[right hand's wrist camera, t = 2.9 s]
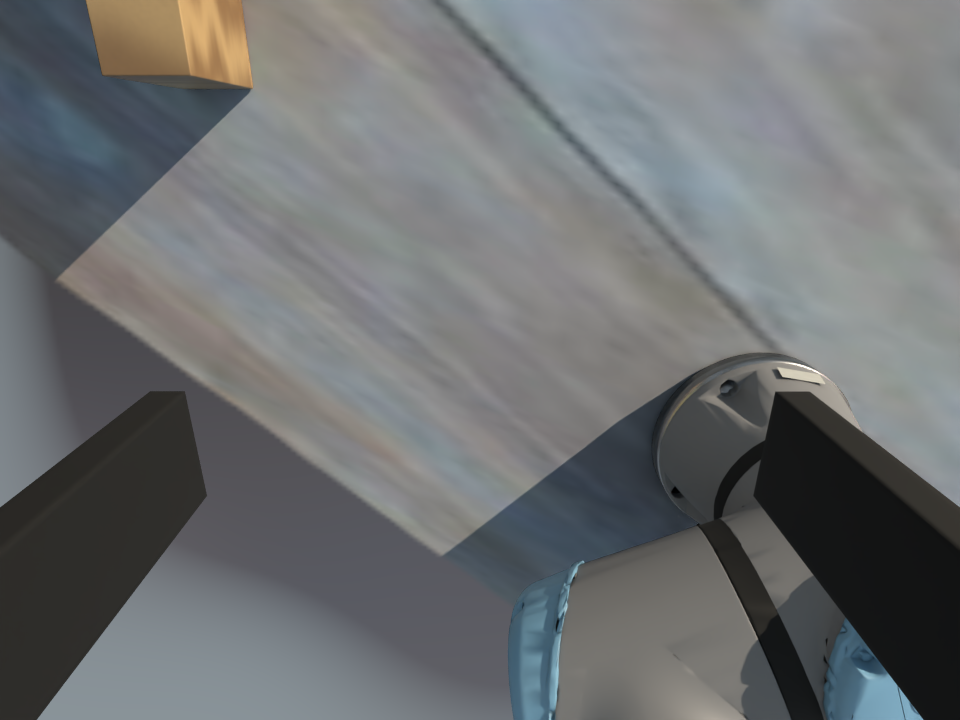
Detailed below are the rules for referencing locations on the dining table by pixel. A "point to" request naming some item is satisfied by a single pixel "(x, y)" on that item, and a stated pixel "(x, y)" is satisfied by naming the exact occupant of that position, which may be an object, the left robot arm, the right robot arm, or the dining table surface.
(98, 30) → the bar
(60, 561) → the right robot arm
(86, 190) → the dining table surface
